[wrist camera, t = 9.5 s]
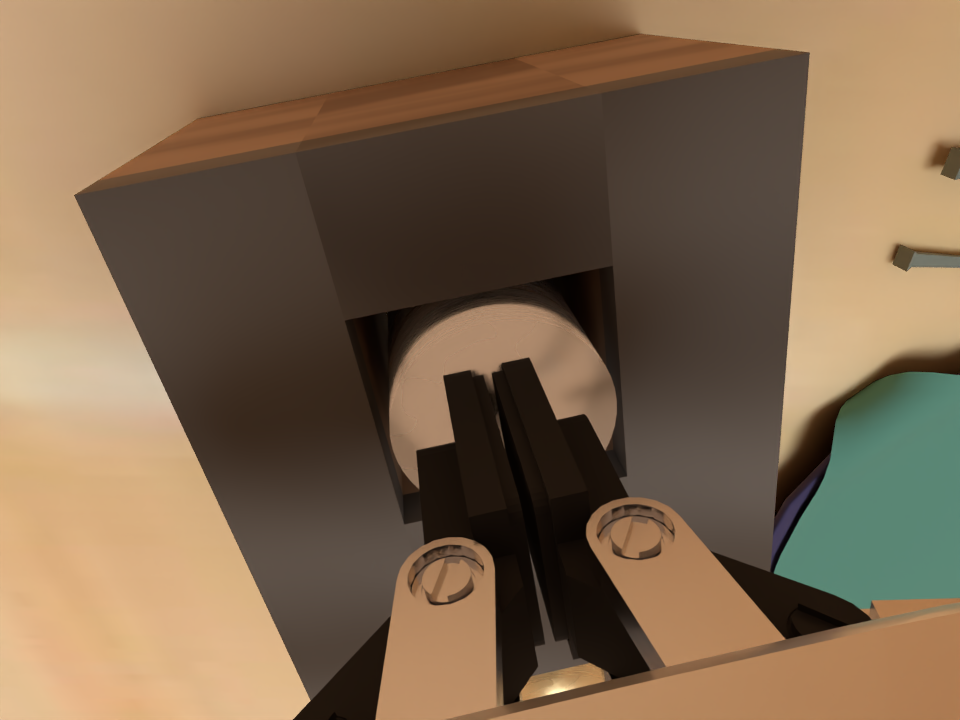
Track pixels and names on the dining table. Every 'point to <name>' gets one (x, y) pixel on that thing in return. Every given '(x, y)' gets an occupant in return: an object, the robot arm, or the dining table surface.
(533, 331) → the steel peg
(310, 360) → the peg block
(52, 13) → the dining table surface
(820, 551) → the cutlery set
